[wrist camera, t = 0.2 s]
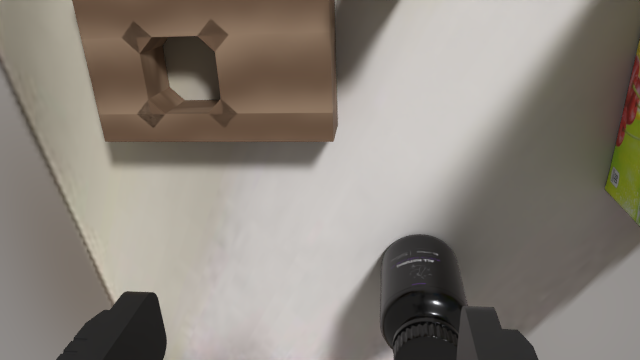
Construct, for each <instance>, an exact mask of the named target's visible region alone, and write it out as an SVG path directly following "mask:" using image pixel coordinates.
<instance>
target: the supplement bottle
mask: <svg viewBox="0 0 640 360" xmlns="http://www.w3.org/2000/svg"><path fill="white" fill-rule="evenodd" d="M463 306H468V304H467V300H466V296H465V291H464V287H463V283H462V279H461V274H460V270H459V266H458V262H457V259H456V256H455V254H454V252H453V251H452V249H451V248H450V247H449V246H448V245H447V244H446V243H444V242H443V241H442V240H440V239H438V238H435V237H432V236H429V235H421V234H417V235H410V236H406V237H403V238H401V239H399V240H397V241H396V242H394V243H393V244H392V245H391V246H390V247H389V248H388V249H387V251H386V252H385V254H384V256H383V259H382V265H381V295H380V328H381V332H382V335H383V337H384V339H385V341H386V343H387V344H388V345H389V346H390V348H391V349H392V350H393V353H394V360H457V346H458V336H459V327H460V317H461V310H462V307H463Z"/></svg>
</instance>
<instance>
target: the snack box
mask: <svg viewBox="0 0 640 360" xmlns="http://www.w3.org/2000/svg"><path fill="white" fill-rule="evenodd" d="M605 190H606V191H607V192H608V193H609V194H610V195H611V196H612V197H613V198H614V200H615V201H616V202H617V203H618V204H619V205H620V206H621V207H622V208H623V209H624V210H625V211H626V212H627V213H628V214H629V215H630V217H631V218H632V219H633V220H634V221H635V222H636V223H637V224H638V225H639V226H640V40H639V44H638V48H637V53H636V57H635V62H634V66H633V70H632V75H631V79H630V83H629V88H628V92H627V97H626V101H625V106H624V110H623V114H622V119H621V123H620V127H619V132H618V136H617V141H616V145H615V149H614V154H613V158H612V162H611V167H610V171H609V175H608V179H607V183H606V186H605Z"/></svg>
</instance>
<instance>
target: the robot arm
mask: <svg viewBox="0 0 640 360" xmlns="http://www.w3.org/2000/svg"><path fill="white" fill-rule="evenodd" d="M166 344H167V339H166V333H165V328H164V324H163V319H162V315H161V310H160V306H159V301H158V297H157V295H156V294H155V293H153V292H129V291H127V292H124V293H123V294H122V295H121V296H120V298H119V299H118V300H117V302H116V303H115V304H114V305H113V307H112V308H111V309H110V310H103V311H102V312H101V313H99V314H98V315H96V316H95V317H94V318H92V319H91V320H89V321H88V322H87V323H85V325H84V326H83V327H82V328H81V330H80V331H79V332H78V333H77V335H76V336H75V337H74V340H73V341H71V342H70V343H69V344H68V346H67V347H66V348H65V349H64V352H63V354H60V356H59V357H58V358H57V359H56V360H163V358H164V355H165V351H166ZM457 360H538V358H537V355H536V353H535V350H534V348H533V346H532V345H531V344H530V343H529V341H528V340H527V339H526V338H525V337H524V336H523V335H522V334H521V333H520V332H519V331H518V330H508V329H502V328H501V325H500V322H499V319H498V316H497V313H496V311H495V309H494V308H493V307H473V306H463V307H462V310H461V317H460V327H459V336H458V346H457Z"/></svg>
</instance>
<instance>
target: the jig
mask: <svg viewBox="0 0 640 360" xmlns="http://www.w3.org/2000/svg"><path fill="white" fill-rule="evenodd" d="M72 1H73V6H74V10H75V14H76V19H77V23H78V27H79V31H80V36H81V40H82V44H83V48H84V53H85V57H86V61H87V66H88V70H89V74H90V78H91V83H92V87H93V91H94V95H95V100H96V104H97V108H98V113H99V117H100V121H101V125H102V130H103V134H104V138H105V142H333V141H334V138H335V134H336V130H337V126H338V117H337V78H336V39H335V0H72ZM174 36H198V37H199V38H200V39H201V40H202V41H203V42H204V43H206V44H207V45H208V46H209V47H210V48H211V49H212V50H213V51H214V52H215V57H216V65H217V73H218V81H219V88H220V96H221V99H220V100H184V99H183V98H181V97H180V96H179V95H178V94H177V93H176V92H175V91H173V90H172V89H171V88H170V87H169V81H168V75H167V69H166V63H165V57H164V51H163V44H164V43H165V42H166V40H167V39H168V37H174Z"/></svg>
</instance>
